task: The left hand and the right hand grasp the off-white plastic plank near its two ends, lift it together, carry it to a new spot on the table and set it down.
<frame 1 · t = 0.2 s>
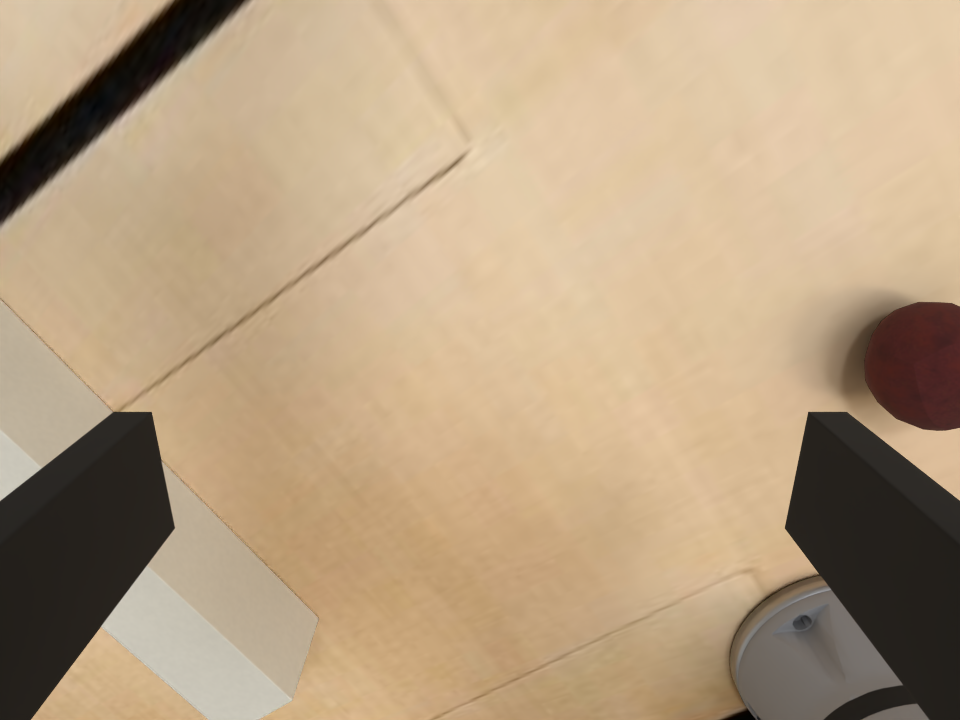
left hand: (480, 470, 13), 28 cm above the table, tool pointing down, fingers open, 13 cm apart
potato: (895, 343, 41), on the table
plank: (30, 381, 42), on the table
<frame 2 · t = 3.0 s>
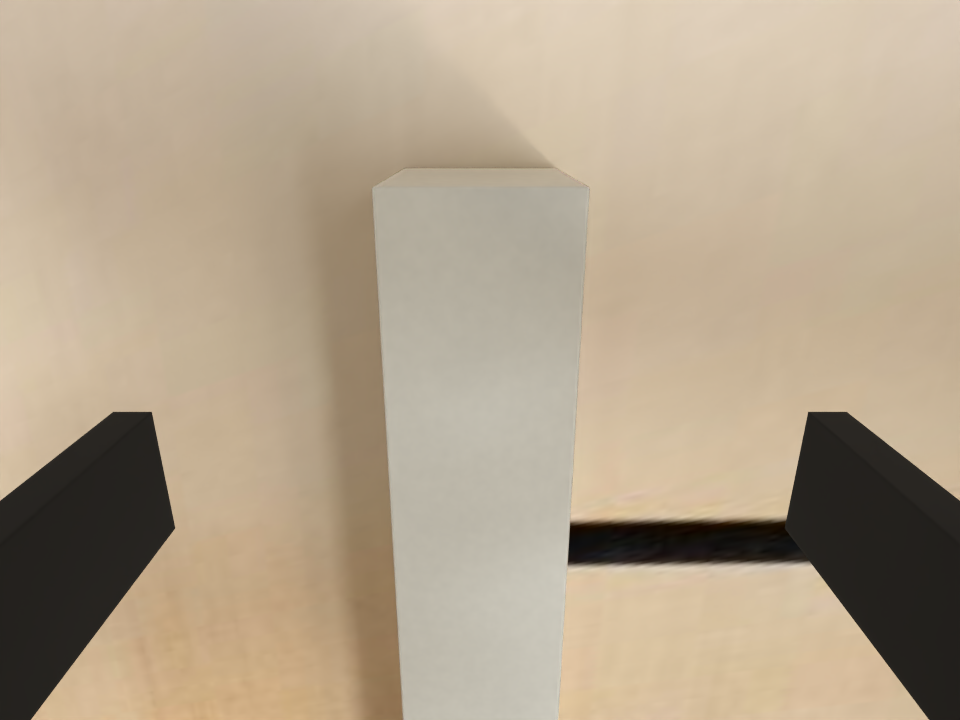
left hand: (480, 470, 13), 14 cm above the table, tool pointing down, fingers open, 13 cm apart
plank: (480, 691, 33), on the table, touching right hand
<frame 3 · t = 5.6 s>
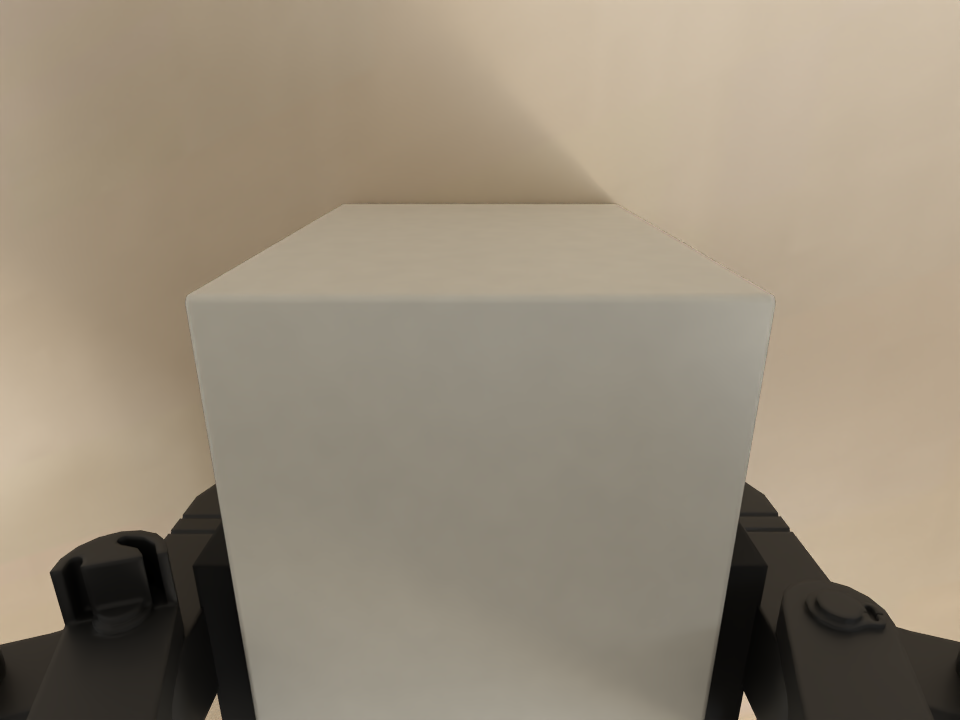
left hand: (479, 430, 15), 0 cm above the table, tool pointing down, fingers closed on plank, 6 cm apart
when the left hand's fingers open (1 cm above the table, at t = 10.9 s): plank stays where it is, on the table.
when the right hand's fingers open (2 cm above the table, at t = 10.9 s): plank stays where it is, on the table.
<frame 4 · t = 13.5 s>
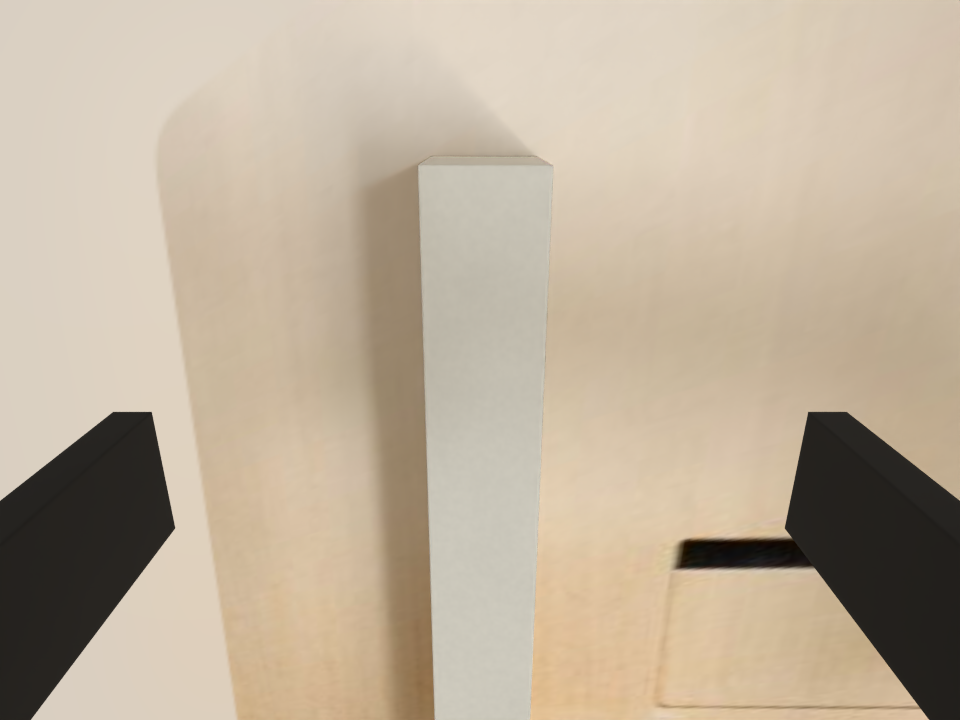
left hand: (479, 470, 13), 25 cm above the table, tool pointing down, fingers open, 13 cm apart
plank: (482, 558, 43), on the table
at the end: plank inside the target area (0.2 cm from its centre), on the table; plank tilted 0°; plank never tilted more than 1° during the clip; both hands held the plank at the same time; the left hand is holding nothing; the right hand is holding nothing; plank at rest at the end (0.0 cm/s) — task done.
